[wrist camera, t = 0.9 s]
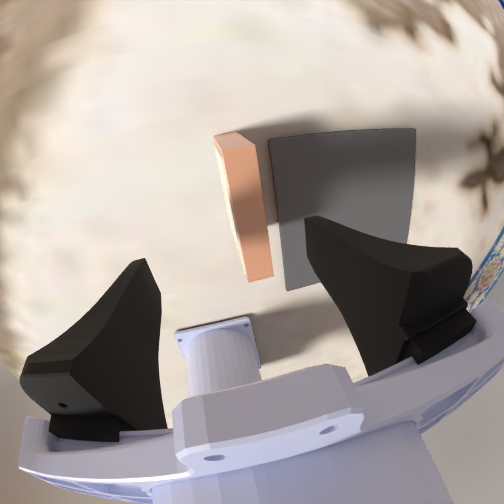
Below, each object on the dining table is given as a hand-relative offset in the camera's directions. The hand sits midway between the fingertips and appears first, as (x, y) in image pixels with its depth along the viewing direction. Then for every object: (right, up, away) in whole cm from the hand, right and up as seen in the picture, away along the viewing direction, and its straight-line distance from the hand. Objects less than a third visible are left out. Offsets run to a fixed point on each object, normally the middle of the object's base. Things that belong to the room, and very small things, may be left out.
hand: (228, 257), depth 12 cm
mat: (+10, +4, +11) cm, 15 cm away
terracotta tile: (0, +5, +8) cm, 10 cm away
